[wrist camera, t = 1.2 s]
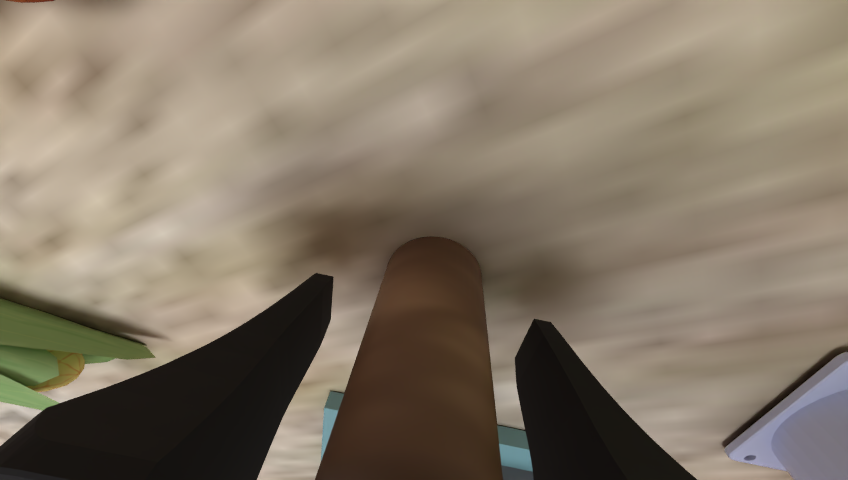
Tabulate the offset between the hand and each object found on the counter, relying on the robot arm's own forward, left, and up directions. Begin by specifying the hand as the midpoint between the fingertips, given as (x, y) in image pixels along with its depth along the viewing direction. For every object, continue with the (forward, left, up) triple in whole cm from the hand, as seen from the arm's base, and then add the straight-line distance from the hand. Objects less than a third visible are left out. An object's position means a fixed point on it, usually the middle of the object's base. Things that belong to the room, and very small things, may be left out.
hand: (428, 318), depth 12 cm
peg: (0, 0, -2) cm, 2 cm away
